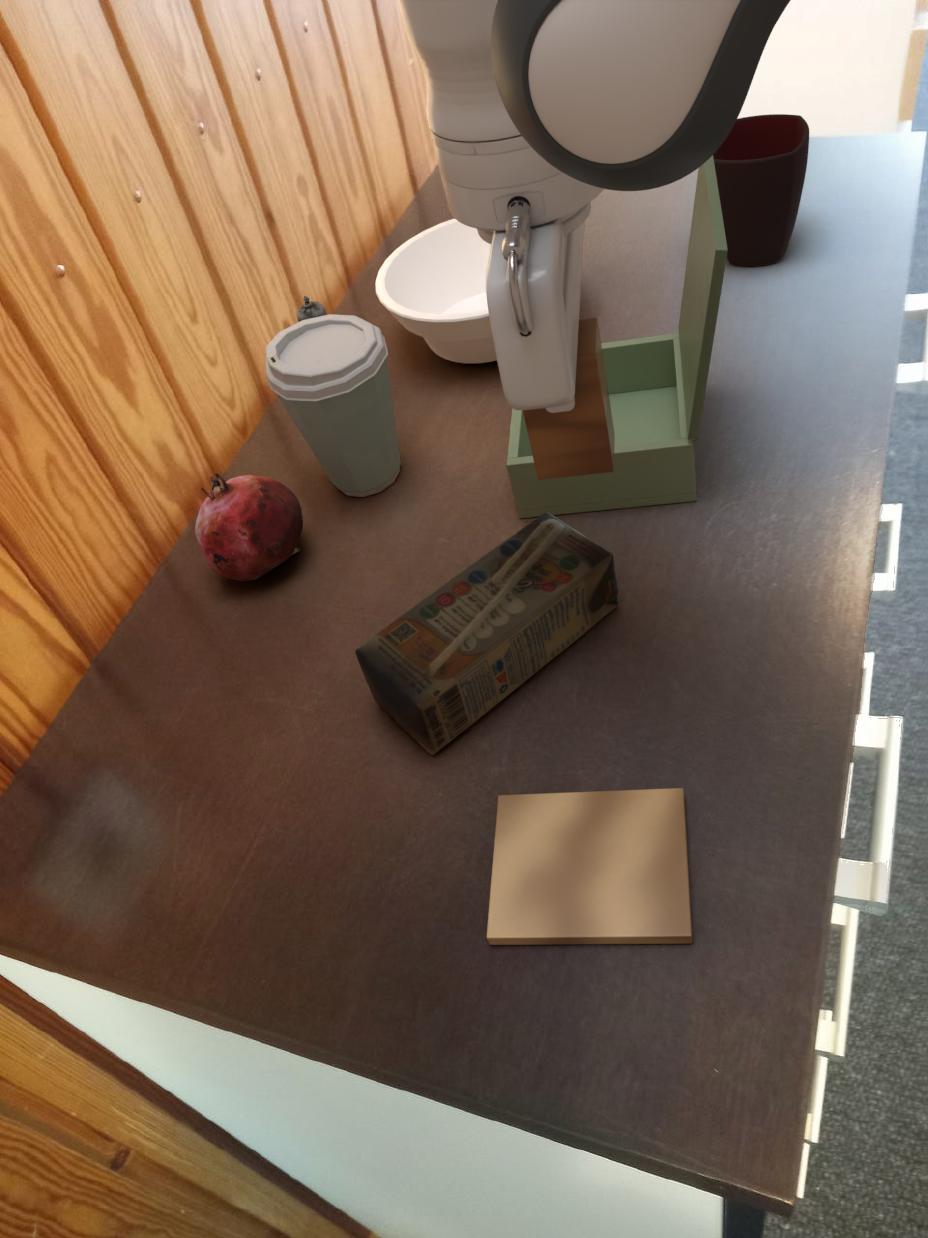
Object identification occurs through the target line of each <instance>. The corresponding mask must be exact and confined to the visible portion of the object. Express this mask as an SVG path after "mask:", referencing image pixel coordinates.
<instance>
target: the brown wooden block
mask: <svg viewBox="0 0 928 1238" xmlns="http://www.w3.org/2000/svg"><path fill="white" fill-rule="evenodd" d="M601 338H602V337H601V331H600V325H599V318H598V317H596V316H595V317H589V318H588V317H587V318H579V328H578V346H577V363H576V381H575V406H574V408H573V409H572V410H570V411H565V412H557V413H551V412H548V411H547V410H546V409H545V408H542V409H532V410H523V415H524V419H525V423H526V428H527V432H528V437H529V441H530V446H531V450H532V455H533V459H534V464H535V468H536V473H537V477H538V480H542V479H552V478H561V477H570V476H580V475H589V474H599V473H608V472H614V447H615V433H614V426H613V419H612V412H611V405H610V399H609V392H608V385H607V378H606V372H605V365H604V358H603V351H602V344H601V343H602V339H601Z"/></svg>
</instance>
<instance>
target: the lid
mask: <svg viewBox="0 0 928 1238" xmlns="http://www.w3.org/2000/svg"><path fill="white" fill-rule="evenodd" d="M690 224H691V225H690V233H689V238H688V239H689V241H688V248H687V257H686V264H685V265H686V266H685V271H684V279H683V288H682V295H681V303H680V311H679V318H678V319H679V320H678V327H677V328H678V333H679V340H680V352H681V364H682V376H683V388H684V400H685V413H686V425H687V437H688V439H693V440H699V435H700V430H701V424H702V418H703V417H702V416H703V410H704V403H705V398H706V391H707V385H708V379H709V373H710V372H709V371H710V366H711V361H712V360H711V359H712V353H713V346H714V342H715V341H714V340H715V334H716V329H717V321H718V315H719V308H720V304H721V303H720V301H721V297H722V289H723V288H722V287H723V284H724V277H725V270H726V265H727V264H726V263H727V252H728V249H727V242H726V236H725V229H724V223H723V216H722V210H721V203H720V197H719V191H718V184H717V178H716V171H715V165H714V158H713V155H712V156H711V157H710V158H709V159H708V160H707V161H706V162H705V163H704V164H703V165H702V166H700V167H699V168H698V169H697V178H696V185H695V193H694V202H693V209H692V216H691V223H690Z"/></svg>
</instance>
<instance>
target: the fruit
mask: <svg viewBox="0 0 928 1238" xmlns="http://www.w3.org/2000/svg"><path fill="white" fill-rule="evenodd" d="M214 475H215V477H214V476H212V475H211V476H210V477H209V479H210V493H209V492H208V491H206V489H205V488H204V487H202V486H201V487H200V490H201V491H202V493H204V494H205V496H207V497H206V498H205V499H204V500H203V502H202V503H201V505H200V508H199V511H198V514H197V517H196V521H195V526H194V535H195V538H196V541H197V544H198V546H199V548H200V550H201V553H202V554H203V557H204V558H205V561H206V563H207V564H208V565H209V567H210V569H211V570H212V571H213V572H214V573H216V574H217V575H219V576H221V577H223V578H225V579H229V580H235V581H241V582H248V581H250V582H251V581H255V580H258V579H259V578H261V577H263V576H265V575H266V574H267V573H270V571H272V570H274V569H275V568H277V567H278V566H280V565H281V564H283V563H285V562H287V560H289V558H291V557H292V555H294V554H296V553H298V552H301V550H302V548H299V547H298V544H299V541H300V537H301V534H302V531H303V527H304V516H303V511H302V507H301V504H300V501H299V500H298V498H297V496H296V494H295V493H294V492H293V491H292V490H291V489H290V488H289V487H288V486H287V485H285V484H283V483H282V482H280V481H278V480H276V479H274V478H271V477H267V476H261V475H254V474H244V475H239V476H236V477H232V478H229V479H228V480H227V481H226V479H224V478H223V476H221V474H219V472H217V471H214Z"/></svg>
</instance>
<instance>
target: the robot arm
mask: <svg viewBox="0 0 928 1238" xmlns="http://www.w3.org/2000/svg"><path fill="white" fill-rule="evenodd" d="M397 2H398V7H399V11H400V15H401V20H402V23H403V28H404V31H405V35H406V37H407V39H408V42H409V44H410V45H411V48H412V49H413V51H414V53H415V54H416V56H417V59H418V60H419V63H420V66H421V69H422V72H423V75H424V81H425V87H426V90H425V92H426V93H425V94H426V96H425V97H426V101H425V102H426V103H425V114H426V122H427V126H428V130H429V134H430V138H431V142H432V146H433V150H434V154H435V158H436V162H437V167H438V171H439V175H440V178H441V183H442V187H443V191H444V195H445V199H446V203H447V207H448V211H449V213H450V215H451V216H452V217H453V219H454V218H455V219H456V220H457V221H459V222H460V223H462V224H464V225H466V226H469V227H472V228H476V229H477V231H478V234H479V236H480V238H481V239H483V240H484V241H485V242H487V243H489V244H491V249H490V255H489V260H488V266H487V272H486V295H487V304H488V312H489V319H490V325H491V330H492V336H493V341H494V346H495V352H496V357H497V360H496V362H497V367H498V371H499V378H500V381H501V387H502V391H503V396H504V398H505V399H506V402H507V403H508V405H509V406H510V408H511V409H512V408H513V409H515V410H532V409H542V408H545V409H546V410H547V411H548V412H551V413H557V412H565V411H570V410H572V409H573V408H574V406H575V381H576V363H577V346H578V328H579V319H580V311H581V310H580V307H581V288H582V273H583V272H582V271H583V257H584V239H585V238H584V237H585V236H584V235H585V226H586V220H587V219H588V217H589V216H590V215H591V211H592V202H593V201H594V200H595V199H596V198H597V197H598V196H599V195H600V194H601V193H602V192H603V191H604V190H608V191H609V190H610V191H617V192H642V191H648V190H649V191H650V190H654V189H657V188H661V187H665V186H667V185H670V184H674V183H675V182H677V181H680V180H681V179H684V178H686V177H687V176H689V175H691V174H692V173H694V172H695V171H697V170H698V169H699V167H700V166H702V165H703V164H704V163H705V162H706V161H707V160H708V159H709V158H710V157H711V156H712V155H713V154H714V153H715V152H716V151H717V150H718V149H719V147H720V146H721V145H722V143H723V142H724V141H725V139H726V138H727V136H728V134H729V133H730V131H731V130H732V128H733V126H734V124H735V122H736V120H737V119H739V116H740V114H741V111H742V109H743V106H744V104H745V101H746V99H747V96H748V93H749V91H750V88H751V85H752V83H753V80H754V77H755V75H756V72H757V69H758V66H759V63H760V61H761V59H762V58H761V57H762V55H763V53H764V50H765V48H766V46H767V43H768V41H769V39H770V37H771V34H772V32H773V30H774V28H775V26H776V24H777V23H778V22H779V20H780V18H781V17H782V15H783V13H784V11H785V10H786V8H787V6H788V5H789V3H791V0H397Z"/></svg>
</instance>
